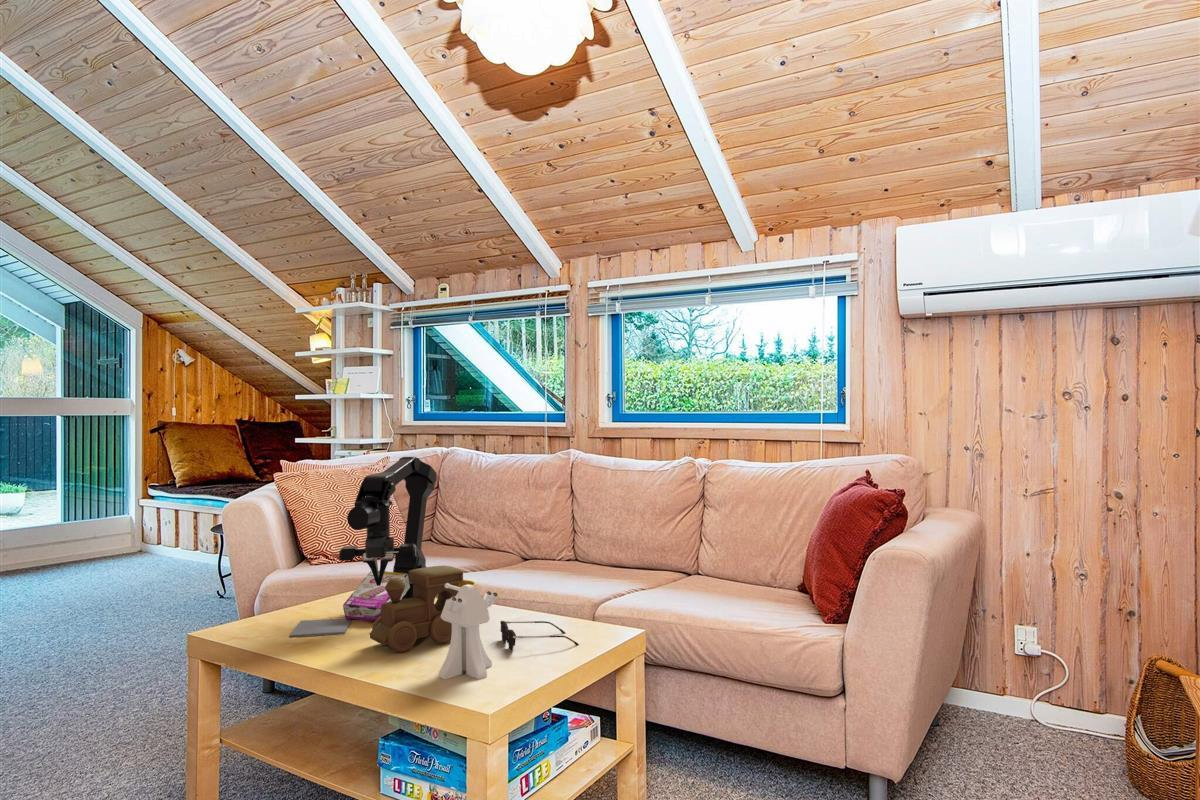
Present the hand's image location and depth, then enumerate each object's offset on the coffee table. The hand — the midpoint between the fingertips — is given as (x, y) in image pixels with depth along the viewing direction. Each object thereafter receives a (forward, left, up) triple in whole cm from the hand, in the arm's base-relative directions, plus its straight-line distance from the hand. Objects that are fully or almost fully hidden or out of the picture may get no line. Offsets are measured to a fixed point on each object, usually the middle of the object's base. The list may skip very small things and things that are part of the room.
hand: (378, 585), depth 205 cm
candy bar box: (+4, -1, -8) cm, 9 cm away
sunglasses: (-39, +25, -11) cm, 47 cm away
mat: (+14, 0, -10) cm, 17 cm away
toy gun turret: (-22, +42, -10) cm, 48 cm away
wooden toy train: (-11, +19, -10) cm, 24 cm away
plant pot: (-20, +1, -10) cm, 22 cm away
